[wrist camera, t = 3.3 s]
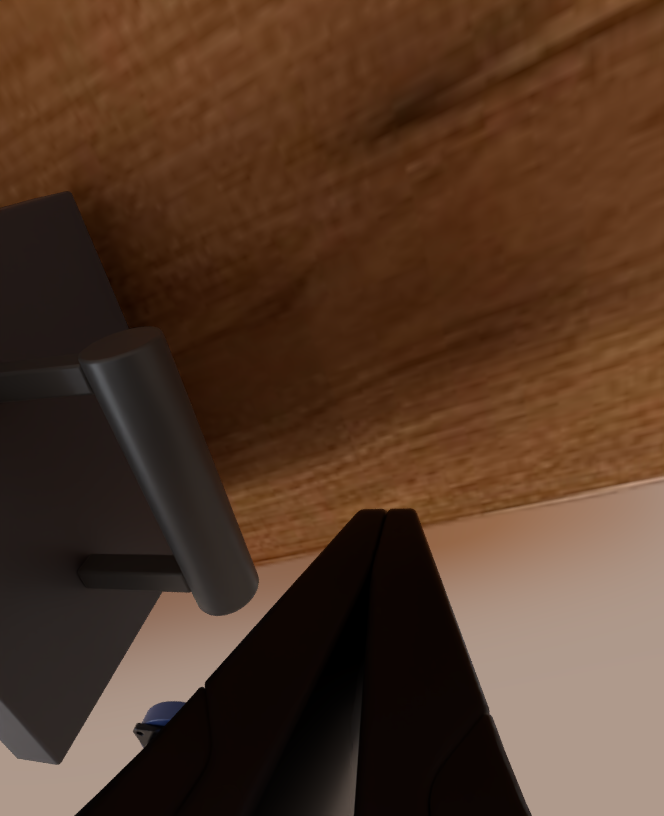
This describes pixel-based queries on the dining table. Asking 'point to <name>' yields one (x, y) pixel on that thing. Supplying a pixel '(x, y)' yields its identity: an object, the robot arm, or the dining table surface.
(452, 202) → the dining table surface
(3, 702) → the drawer
